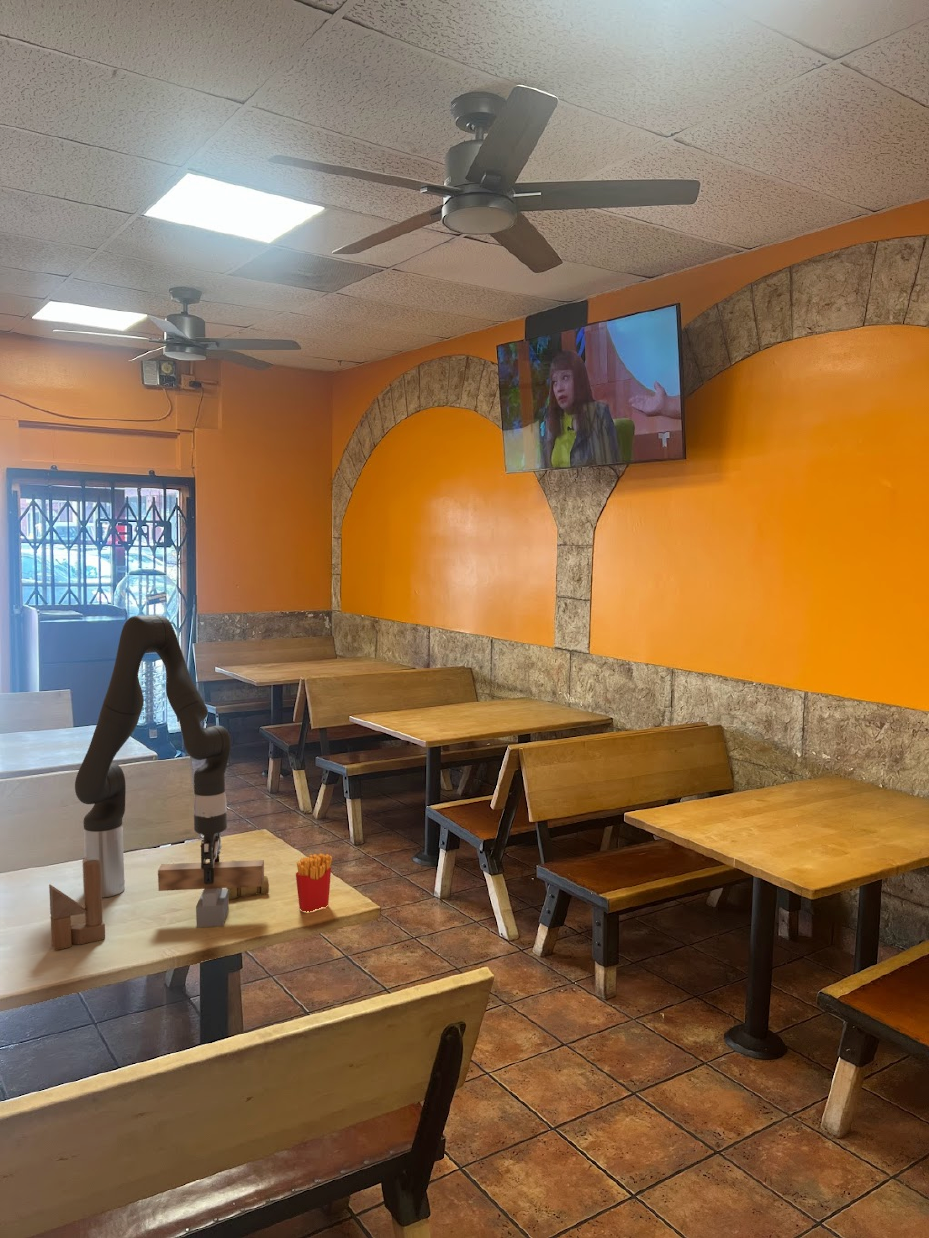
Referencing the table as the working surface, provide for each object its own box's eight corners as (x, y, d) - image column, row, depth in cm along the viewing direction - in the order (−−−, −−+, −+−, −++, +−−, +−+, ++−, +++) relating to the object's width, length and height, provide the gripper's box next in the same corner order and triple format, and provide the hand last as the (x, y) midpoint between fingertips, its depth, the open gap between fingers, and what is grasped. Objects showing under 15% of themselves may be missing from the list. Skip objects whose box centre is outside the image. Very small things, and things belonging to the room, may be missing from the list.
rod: (158, 890, 215) (157, 870, 214) (162, 884, 219) (161, 864, 218) (262, 886, 218) (262, 865, 217) (264, 879, 222) (263, 859, 221)
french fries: (302, 915, 220) (301, 863, 219) (294, 909, 224) (293, 858, 222) (335, 905, 226) (334, 854, 225) (327, 900, 229) (326, 850, 228)
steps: (196, 927, 214) (195, 894, 213) (203, 909, 224) (202, 878, 223) (222, 925, 214) (222, 892, 214) (228, 908, 224) (228, 877, 223)
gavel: (217, 862, 248) (255, 857, 252) (218, 878, 248) (255, 873, 252) (228, 884, 229) (268, 878, 233) (229, 902, 229) (269, 896, 233)
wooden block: (51, 945, 204) (48, 867, 203) (101, 933, 210) (98, 857, 209) (54, 951, 201) (51, 872, 200) (105, 939, 207) (102, 862, 206)
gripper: (199, 802, 223) (200, 866, 225) (188, 820, 209) (190, 889, 210) (230, 801, 224) (232, 865, 225) (222, 819, 210) (223, 887, 211)
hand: (212, 876), depth 218 cm, fingers open, 8 cm apart
